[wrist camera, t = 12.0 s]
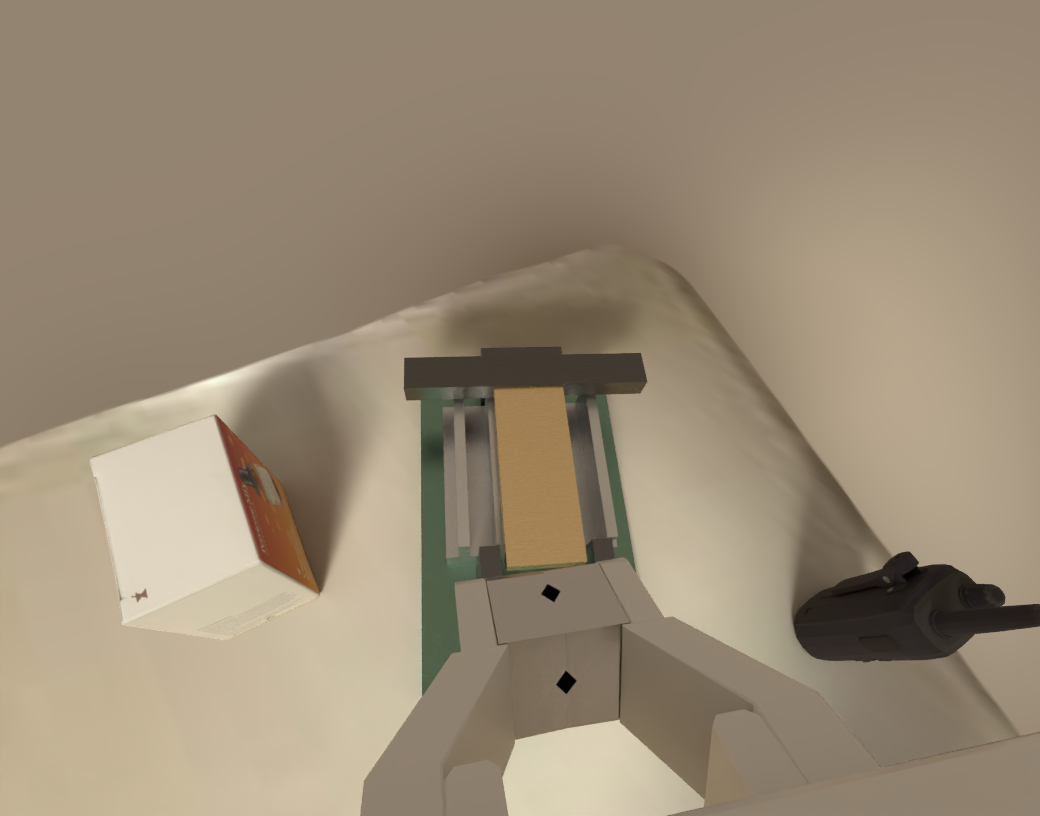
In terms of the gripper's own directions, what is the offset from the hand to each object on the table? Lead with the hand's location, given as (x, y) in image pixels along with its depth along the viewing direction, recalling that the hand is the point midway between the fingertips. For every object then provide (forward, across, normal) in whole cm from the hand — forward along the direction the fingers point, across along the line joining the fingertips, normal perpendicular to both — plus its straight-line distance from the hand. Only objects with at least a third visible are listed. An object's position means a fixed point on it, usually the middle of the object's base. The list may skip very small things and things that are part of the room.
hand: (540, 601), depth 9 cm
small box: (+23, +13, +12) cm, 29 cm away
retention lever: (+15, -3, +10) cm, 18 cm away
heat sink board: (+23, -3, +12) cm, 26 cm away
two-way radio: (+17, -21, +18) cm, 33 cm away
